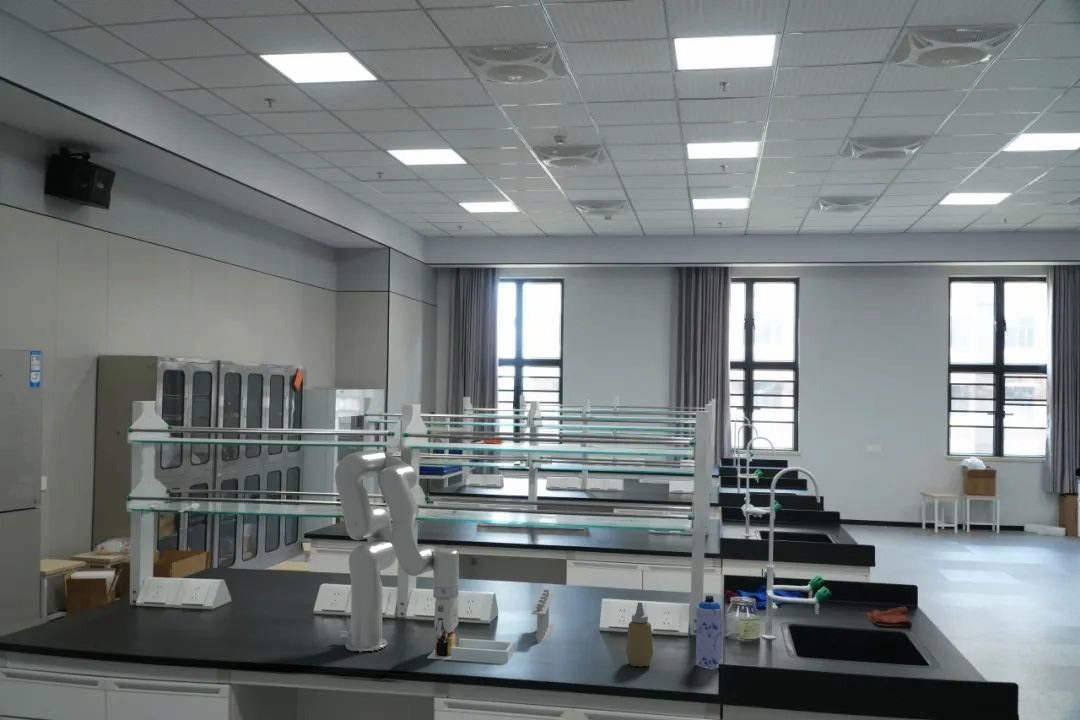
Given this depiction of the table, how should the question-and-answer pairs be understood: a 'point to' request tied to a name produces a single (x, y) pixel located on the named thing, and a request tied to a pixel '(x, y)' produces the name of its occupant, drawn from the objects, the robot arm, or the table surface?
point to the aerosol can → (708, 633)
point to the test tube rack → (543, 616)
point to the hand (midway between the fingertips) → (445, 651)
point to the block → (450, 641)
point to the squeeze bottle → (639, 639)
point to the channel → (480, 651)
